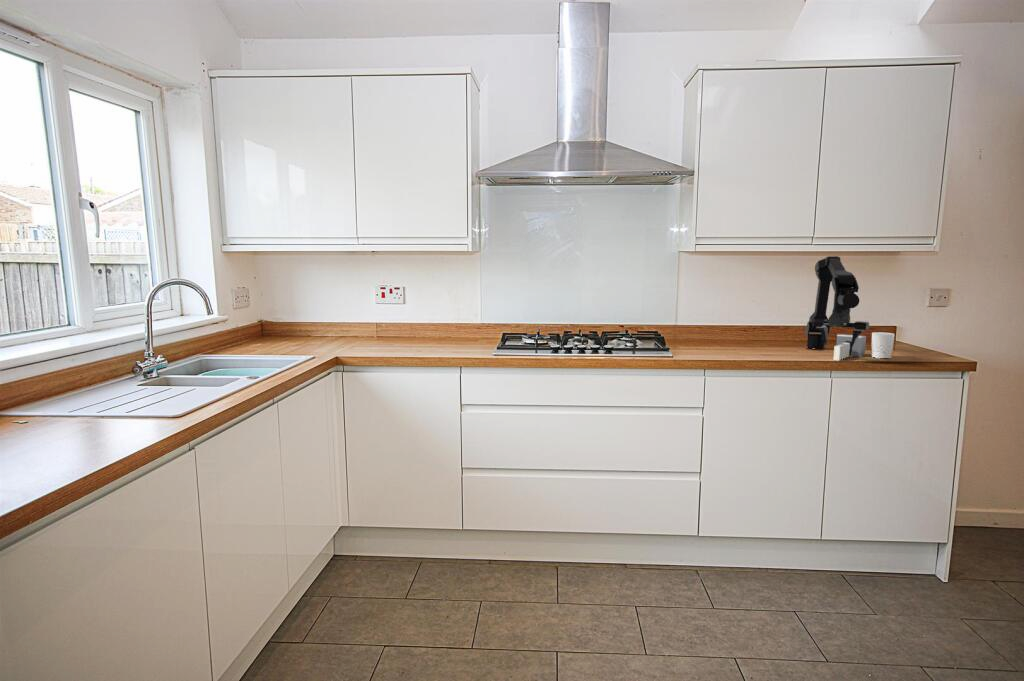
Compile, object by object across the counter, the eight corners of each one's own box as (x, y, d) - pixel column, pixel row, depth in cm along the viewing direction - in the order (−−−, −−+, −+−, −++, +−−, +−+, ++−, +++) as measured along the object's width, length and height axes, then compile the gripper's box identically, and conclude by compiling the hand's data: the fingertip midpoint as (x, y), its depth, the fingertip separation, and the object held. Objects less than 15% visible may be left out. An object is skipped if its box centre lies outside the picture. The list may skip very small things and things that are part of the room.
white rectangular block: (843, 355, 239) (844, 342, 239) (848, 356, 238) (850, 342, 237) (833, 360, 229) (834, 346, 228) (839, 360, 227) (840, 346, 226)
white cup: (869, 358, 236) (871, 333, 234) (870, 355, 242) (872, 331, 241) (892, 359, 231) (894, 335, 230) (892, 357, 238) (894, 333, 237)
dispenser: (840, 352, 249) (842, 332, 248) (864, 355, 243) (866, 334, 242) (835, 354, 244) (837, 334, 243) (860, 357, 238) (861, 336, 236)
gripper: (809, 306, 227) (806, 345, 229) (864, 309, 214) (860, 350, 216) (818, 305, 235) (815, 343, 237) (871, 307, 222) (867, 347, 224)
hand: (838, 346), depth 228 cm, fingers open, 9 cm apart
